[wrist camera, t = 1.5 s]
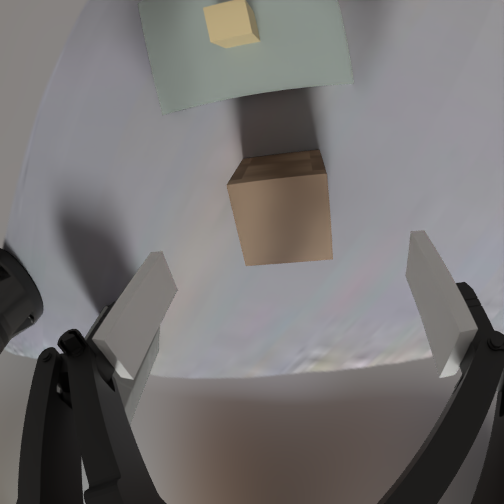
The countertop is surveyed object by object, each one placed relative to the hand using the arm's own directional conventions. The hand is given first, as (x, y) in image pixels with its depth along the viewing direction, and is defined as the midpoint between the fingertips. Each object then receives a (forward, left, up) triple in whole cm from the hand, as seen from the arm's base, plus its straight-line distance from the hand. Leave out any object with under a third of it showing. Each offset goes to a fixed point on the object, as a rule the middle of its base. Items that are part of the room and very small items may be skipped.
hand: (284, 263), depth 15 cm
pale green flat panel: (-1, +13, -10) cm, 17 cm away
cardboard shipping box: (0, 0, -10) cm, 10 cm away
